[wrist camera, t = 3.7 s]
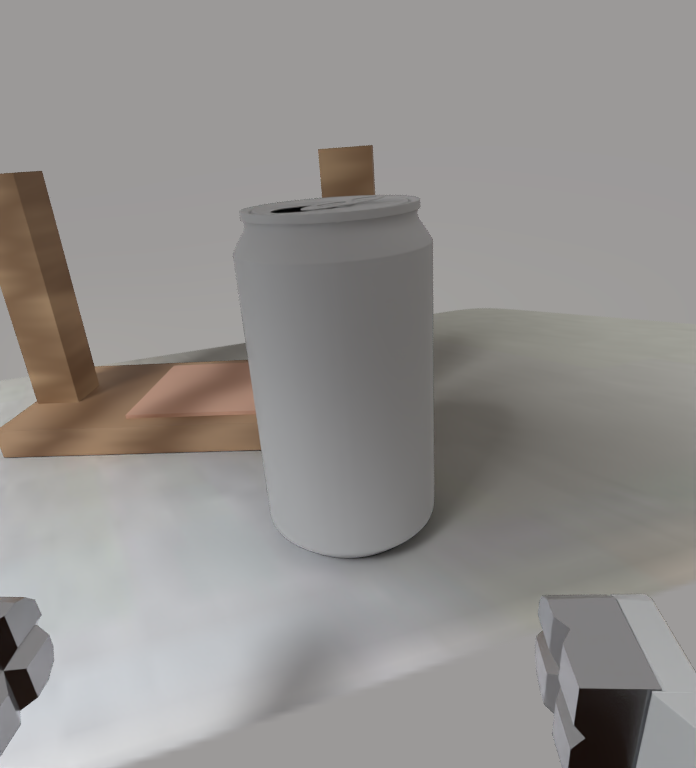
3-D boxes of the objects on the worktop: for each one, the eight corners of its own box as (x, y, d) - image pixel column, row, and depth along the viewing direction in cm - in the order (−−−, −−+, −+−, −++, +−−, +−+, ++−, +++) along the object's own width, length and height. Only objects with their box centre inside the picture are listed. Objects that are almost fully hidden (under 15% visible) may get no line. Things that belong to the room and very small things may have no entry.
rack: (4, 457, 28) (-97, 180, 23) (89, 388, 37) (30, 172, 31) (390, 446, 27) (377, 144, 21) (389, 375, 35) (379, 145, 30)
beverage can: (276, 481, 25) (236, 200, 20) (417, 466, 25) (411, 186, 20) (268, 582, 19) (209, 219, 14) (453, 562, 19) (456, 199, 14)
